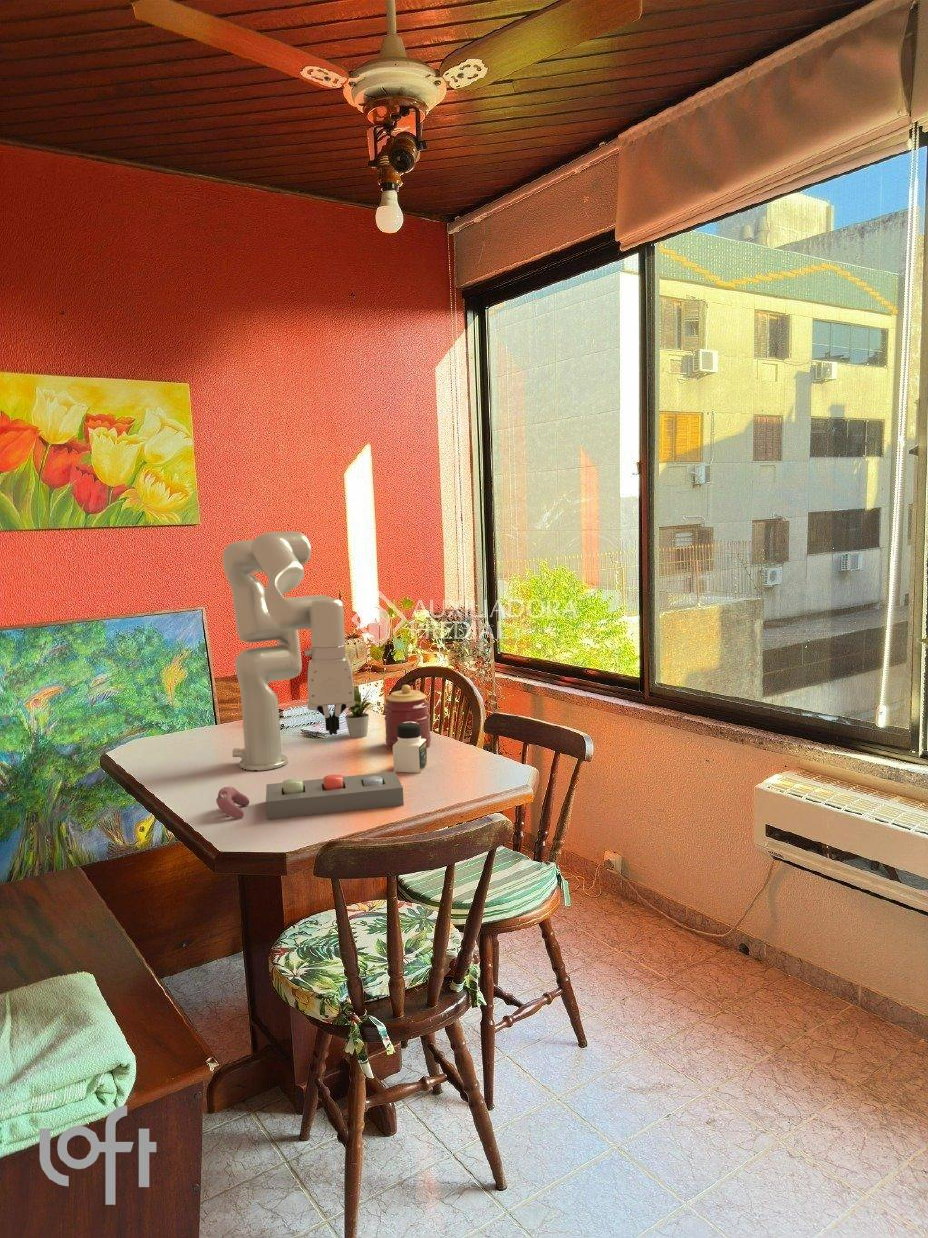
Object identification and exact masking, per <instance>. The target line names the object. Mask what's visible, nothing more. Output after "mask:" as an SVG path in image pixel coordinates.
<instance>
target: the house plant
mask: <svg viewBox="0 0 928 1238" xmlns="http://www.w3.org/2000/svg"><path fill="white" fill-rule="evenodd" d="M359 685H360V684H358V685H357V686H355V685H354V701H355V706H352V707H349V708H347V711H348V712H350V711H351V713H349V714H348V713H347V714H346V715H345V716H344V718H345V721H346V726H347V730H348V735H349V738H352V739H359V738H365V737H367V735H368V729H369V718H370V714H368V713H366V712H367V711H368V710H369V709H371V707H373V708H374V707H377V706H376V705H372V706H369V705H371V704H373V703H372V702H367V701H371V699H369V698H368V697H369V696H370V694H371V693H373V692H374V690H373V691H372V692H371V693H370V690H372V689H371V688H372V687H370V688H369V690H367V693H366V695H365V697H364V698H363V700H362V693H361V692H360V691H359ZM361 702H362V703H361ZM368 706H369V707H368Z"/></svg>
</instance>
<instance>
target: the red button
mask: <svg viewBox="0 0 928 1238" xmlns="http://www.w3.org/2000/svg"><path fill="white" fill-rule="evenodd" d="M343 777H344V776H343V775H342V774H330V775H329V774H328V775H326V776H324V777H323V778H322V779H323V781H324V790H333V789H343Z"/></svg>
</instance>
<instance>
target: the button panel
mask: <svg viewBox="0 0 928 1238" xmlns="http://www.w3.org/2000/svg"><path fill="white" fill-rule="evenodd" d="M371 776H379V777H382V780H383V784H382V785H372V786H364V785H363V779H364V778H366V777H371ZM265 786H266V790H265V793H266V794H265V807H266V820H267V819H269V820H275V819H274V818H278V819H284V818H283V817H287V818H293V817H292V816H296V817H302V816H301V815H306V816H314V815H313V814H315V815H323V814H331V813H341V812H350V811H351V812H352V811H359V810H367V809H368V810H369V809H380V808H388V807H396V806H404V805H405V801H404V787H403V785H402V783H401V781H400V779H399V776H398V775H397V772H394V771H389V772H378V773H369V774H368V773H367V774H357V775H348V776H347V775H346V776H343V789H333V790H324V781H323V778H317V779H308V780H306V779H305V780H303V792H304V793H294V794H284V791H283V782H277V783H269V784H266V785H265Z"/></svg>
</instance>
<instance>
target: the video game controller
mask: <svg viewBox="0 0 928 1238" xmlns="http://www.w3.org/2000/svg"><path fill="white" fill-rule="evenodd" d="M215 802H216V804H217V806H218V808H219V809H220V811H221V812H223V813H225V814H226V815H227V816H228V815H229V816H228V817H232V818H234V819H236V818H240V819H243V817H244V815H245V813H244V811H243V810H242V808H240V807H239V806H240V805H248V806H249V805H250V799H249V798H248V797H247V795H245V794H243V793H241V792H240V791H239V790H237V789H236V788H235V787H232V786H231V785H229V786H224V787H222V788H220V789H219V790H218V793H217V797H216V800H215ZM237 805H238V806H237Z"/></svg>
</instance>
